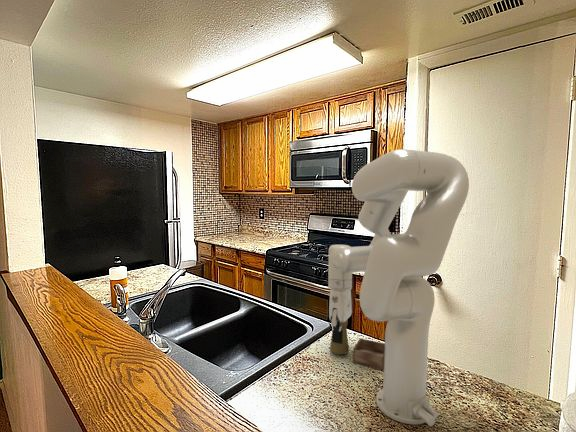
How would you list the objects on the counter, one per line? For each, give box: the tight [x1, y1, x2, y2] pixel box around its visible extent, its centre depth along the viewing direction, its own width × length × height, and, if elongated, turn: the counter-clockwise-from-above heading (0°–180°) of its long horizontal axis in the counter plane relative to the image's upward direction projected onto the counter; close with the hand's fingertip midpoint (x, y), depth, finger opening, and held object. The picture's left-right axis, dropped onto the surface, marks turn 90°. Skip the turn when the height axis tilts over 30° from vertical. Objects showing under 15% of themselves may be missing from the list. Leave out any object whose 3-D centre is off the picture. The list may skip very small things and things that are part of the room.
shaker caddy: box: [352, 338, 385, 371], centre depth 96 cm, size 9×9×4 cm
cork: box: [329, 318, 350, 355], centre depth 99 cm, size 6×6×11 cm
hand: (339, 339), depth 99 cm, fingers closed on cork, 3 cm apart
